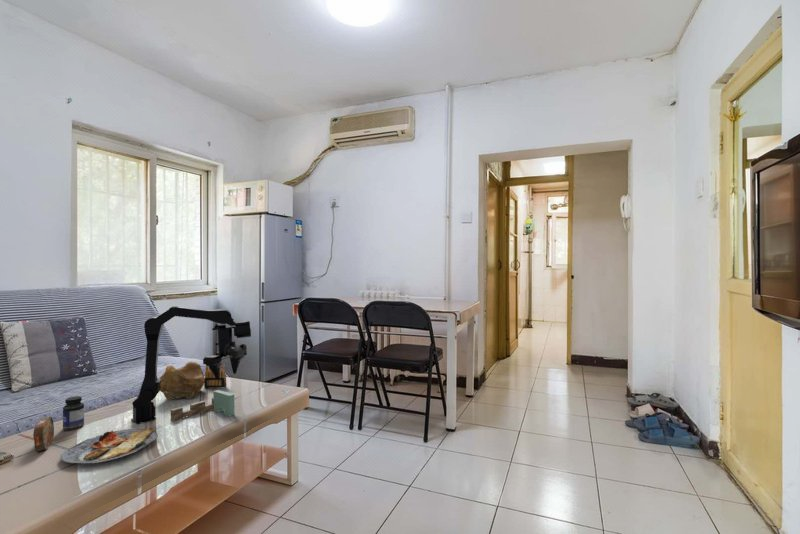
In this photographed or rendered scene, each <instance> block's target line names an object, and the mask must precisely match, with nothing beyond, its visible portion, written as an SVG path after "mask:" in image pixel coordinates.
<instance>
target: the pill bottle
mask: <svg viewBox="0 0 800 534" xmlns="http://www.w3.org/2000/svg"><path fill="white" fill-rule="evenodd" d="M82 400H83V399H82V396H80V395H78V396H70V397H67V398H65V400H64V401H65V405H64V406H63V408H62V430H63V431H74V430H78V429H80V428H83V427H84V425H85V404H84V402H82Z"/></svg>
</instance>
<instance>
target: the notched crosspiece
mask: <svg viewBox="0 0 800 534" xmlns="http://www.w3.org/2000/svg"><path fill="white" fill-rule="evenodd" d="M213 398H214V409H213V411H214V412H216V411H217V412H216V413H222V412H223V415H225V414H226V415H225V416H229V417H231V416H235V415H234V414H235V394H234V393H230V392H226V391H223V390H219V389H217V390H213ZM221 411H222V412H221Z"/></svg>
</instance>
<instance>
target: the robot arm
mask: <svg viewBox="0 0 800 534" xmlns="http://www.w3.org/2000/svg"><path fill="white" fill-rule="evenodd" d="M174 317H179V318H191V319H199V320H206V321H211V322H214V323H215V325H214V326H213V327H212V328H211V329H212V331H216V332H217V333H216V334H217V335H216V336H217V337H216V338H217V341H216V342H215V346H217V352H215V355H213V354H212V355H207V356H204V358H203V359H202V364H203V365H205V367H206V366H208V369H209V368H210V369H211V371H212V372H213V374H214V376H215V378H216V379H217V380H219V379H220V366H221V367H222V365H223V363H221V362H222V360H225V359H228V358H229V361H230V365H231V370H232V374H233V375H235V374H237V371H238V368H239V366H240V363H241V360H242V359H244V358H245V356H247V355H248V353H247V350H248V349H247V344H245V343H243V344H238V345H236V341H235V340H233V336H234V337H236V339H244V338H251V337H252V330H251V329H252V328H251V322H250V320H246V321H240V322H238V321H236V320H235V319H234V318H233V317H232V313H231V311H230V310H229V309H225V308H222V309H209V310H208V309H199V308H190V307H183V306H182V307H181V306H177V305H172V306H171V307H169V308H168V309H167V310H166V311H165V312H163V313H160V315H158V316H151V317H150V318H148V319H147V320H146V321H145V322H144V324H143V326H144V327H143V328H144V334H145V339H146V349H145V350H146V352H145V365H144V367H145V368H144V377H143V380H142V383H141V386H140V388H139V394H138V395H137V396H136V398H135V399H134V400H133V401H132V403H131V405H132V418H131V420H130V421H131V422H133V423H135V424H136V425H137V424H139V425H140V424H142V423H146V422H150V421H153V420H156V419H157V417H156V405H155V403H154V401H153V400H155V398H156V397H157V396H158V394H159V393H160V392H161V391H160V390H161V386H160V384H161V380H162V379H160V378H159V379H158V375H157V372H158V357H159V346H160V345H159V344H160V338H161V335H162V332H163V329H164V325H165V324H166V323H167V322H168V321H170V320H171V319H173V318H174ZM227 325H228V326H227Z"/></svg>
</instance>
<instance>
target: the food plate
mask: <svg viewBox="0 0 800 534" xmlns="http://www.w3.org/2000/svg"><path fill="white" fill-rule="evenodd" d="M158 436H159V435H158V433H156V431H155V430H154V428H153V427H150V428H147V429H146V428H128V429H127V428H125V429H120V430H110V431H106V432H103V434H99V435H96V436H95V437H91V438H87V439H85V440H82V441H81V442H79V443H78V444H75V445H73V446H71V447H70V448H68V449H66V450H64V451H63V452H62V453H61V454H60V455H59V459H60V460H62V461H63V462H66V463H70V464H81V465H83V464H97V463H98V464H99V463H103V462H113V461H115V460H116V459H120V458H123V457H125V456H128V455H131V454H134V453H136V452H138V451H139V450H141V449H143V448H145V447H147V445H149V444H151V443H153V441H155V440H156V439H158ZM83 455H84V456H83ZM81 457H83V458H82V459H83V460H82V459H80V458H81ZM97 459H98V460H97Z"/></svg>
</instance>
